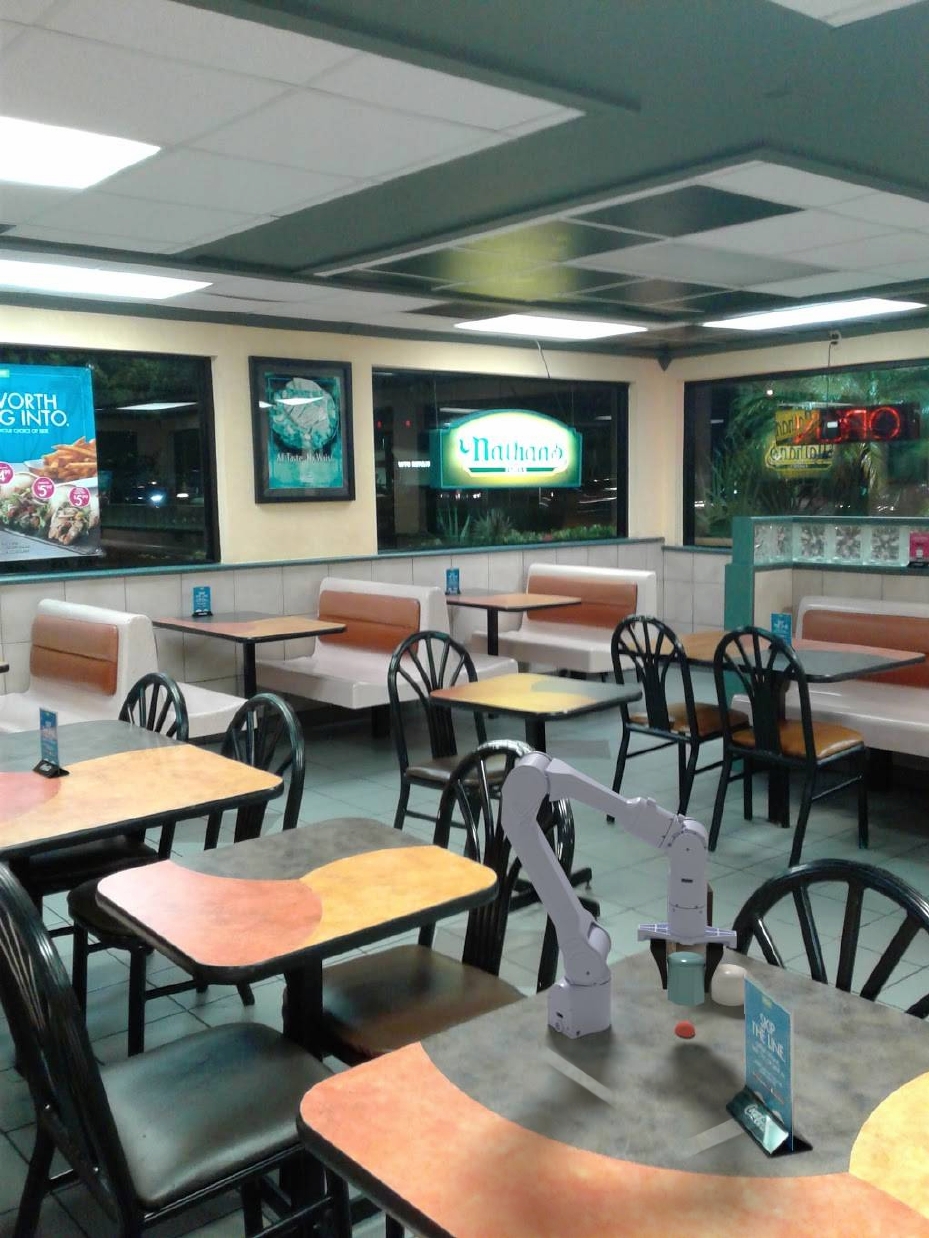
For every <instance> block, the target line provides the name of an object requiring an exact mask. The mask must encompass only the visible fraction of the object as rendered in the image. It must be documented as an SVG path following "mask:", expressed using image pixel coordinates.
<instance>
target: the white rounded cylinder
mask: <svg viewBox="0 0 929 1238" xmlns="http://www.w3.org/2000/svg"><path fill="white" fill-rule="evenodd" d="M748 973H749V972H748V971H747V969H746V968H744V967H742V966H739V965H735V964H729V963H723V964H718V966H717V968H716V970H715V972H714V975H713V977H712V980H711V1000H713V1001H714V1002H715V1003H717V1004H718V1005H722V1006H725V1007H727V1006H728V1007H739V1006H744V1005H745V1004H744V982H743V975H744V974H748ZM748 975H749V974H748Z"/></svg>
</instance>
